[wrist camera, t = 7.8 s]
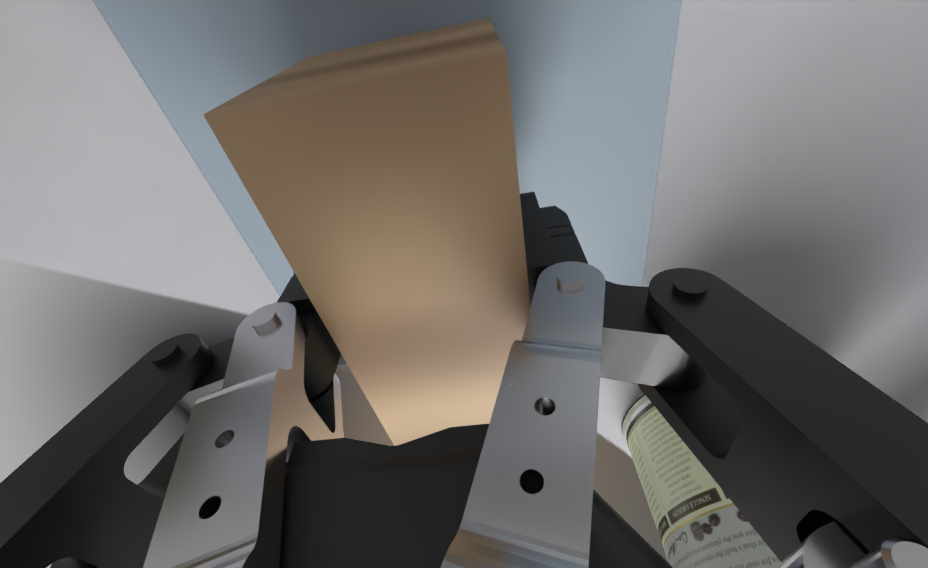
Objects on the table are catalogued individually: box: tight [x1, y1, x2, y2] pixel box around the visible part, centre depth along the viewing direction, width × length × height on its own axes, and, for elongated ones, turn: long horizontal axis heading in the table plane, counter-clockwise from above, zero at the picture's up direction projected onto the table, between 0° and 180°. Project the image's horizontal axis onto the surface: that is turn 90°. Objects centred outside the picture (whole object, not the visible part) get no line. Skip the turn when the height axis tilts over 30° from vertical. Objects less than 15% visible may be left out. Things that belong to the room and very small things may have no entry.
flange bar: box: [203, 18, 531, 446], centre depth 10 cm, size 10×4×5 cm, turn 10°
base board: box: [93, 0, 682, 296], centre depth 13 cm, size 16×15×1 cm
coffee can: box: [622, 395, 781, 568], centre depth 18 cm, size 10×10×14 cm
